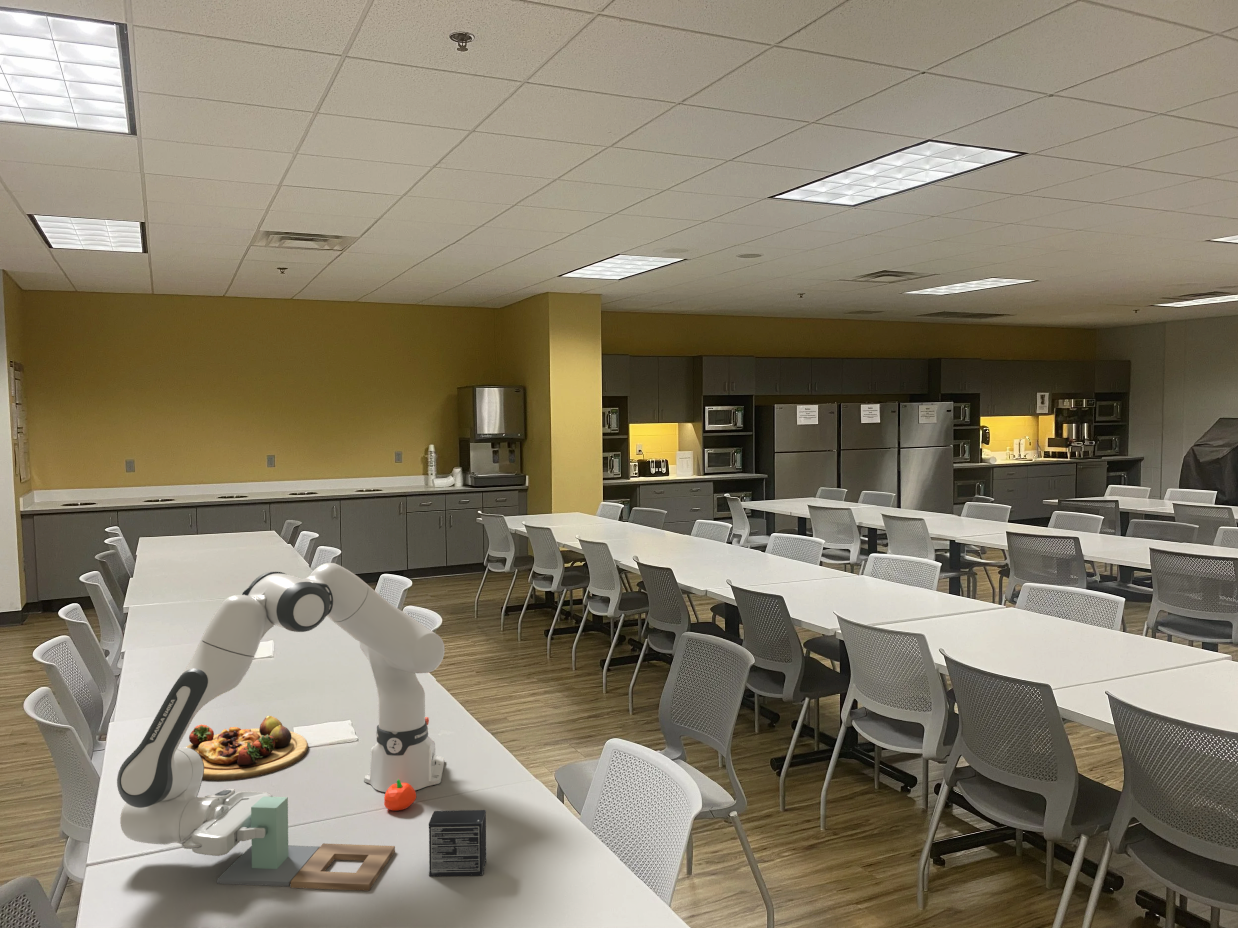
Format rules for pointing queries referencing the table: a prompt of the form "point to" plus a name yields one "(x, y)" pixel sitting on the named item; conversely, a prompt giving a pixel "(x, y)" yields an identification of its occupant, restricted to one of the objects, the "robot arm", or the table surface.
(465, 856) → the small box
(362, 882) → the pocket board
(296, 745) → the wooden plate with food
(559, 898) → the table surface
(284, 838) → the green block
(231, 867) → the rubber mat
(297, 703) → the table surface
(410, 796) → the pumpkin
